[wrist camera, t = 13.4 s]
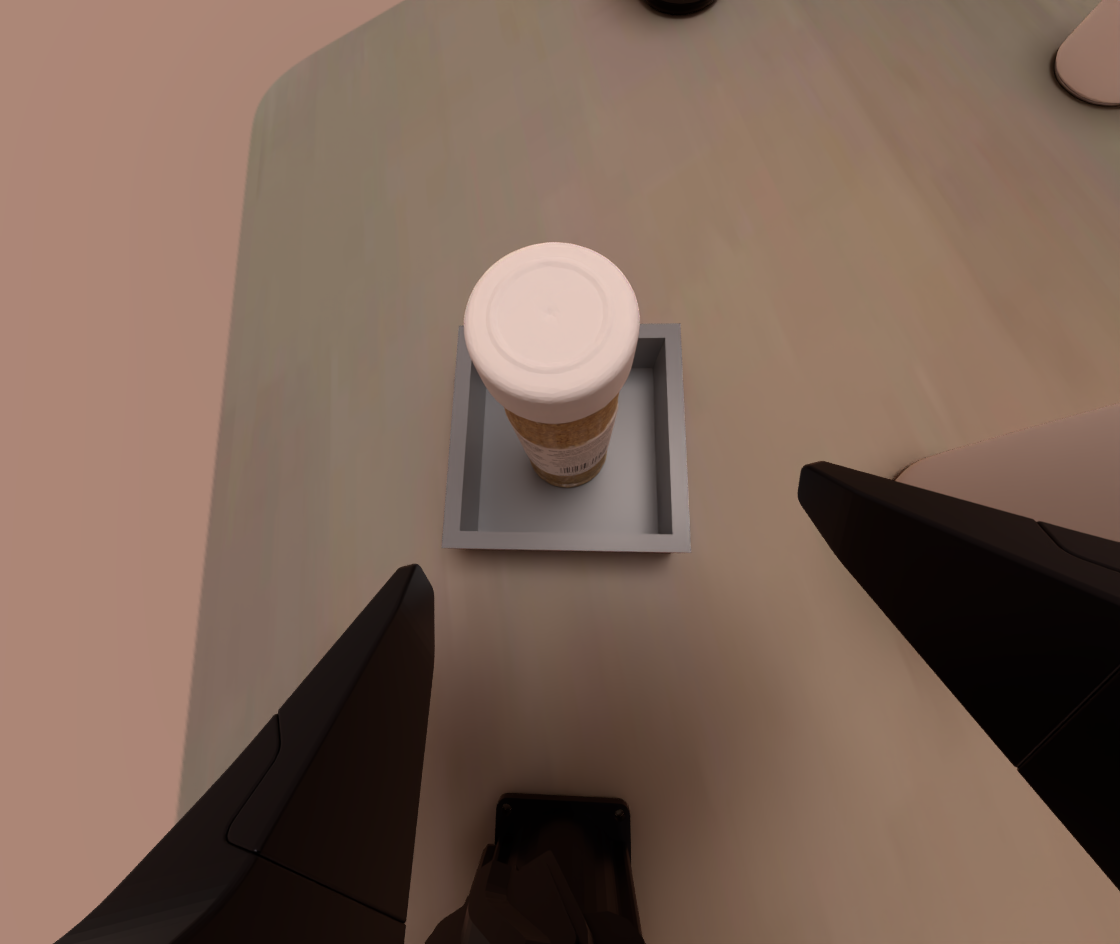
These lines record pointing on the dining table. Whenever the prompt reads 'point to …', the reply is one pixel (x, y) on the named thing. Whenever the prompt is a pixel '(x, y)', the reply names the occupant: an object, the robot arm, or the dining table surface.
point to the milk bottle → (1038, 472)
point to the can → (1093, 57)
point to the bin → (594, 507)
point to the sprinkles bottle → (555, 352)
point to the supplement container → (678, 6)
